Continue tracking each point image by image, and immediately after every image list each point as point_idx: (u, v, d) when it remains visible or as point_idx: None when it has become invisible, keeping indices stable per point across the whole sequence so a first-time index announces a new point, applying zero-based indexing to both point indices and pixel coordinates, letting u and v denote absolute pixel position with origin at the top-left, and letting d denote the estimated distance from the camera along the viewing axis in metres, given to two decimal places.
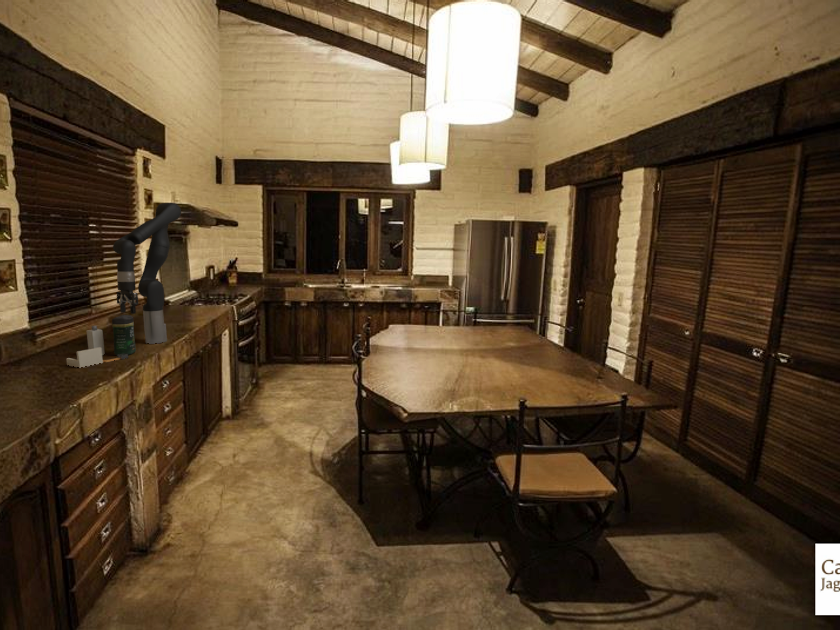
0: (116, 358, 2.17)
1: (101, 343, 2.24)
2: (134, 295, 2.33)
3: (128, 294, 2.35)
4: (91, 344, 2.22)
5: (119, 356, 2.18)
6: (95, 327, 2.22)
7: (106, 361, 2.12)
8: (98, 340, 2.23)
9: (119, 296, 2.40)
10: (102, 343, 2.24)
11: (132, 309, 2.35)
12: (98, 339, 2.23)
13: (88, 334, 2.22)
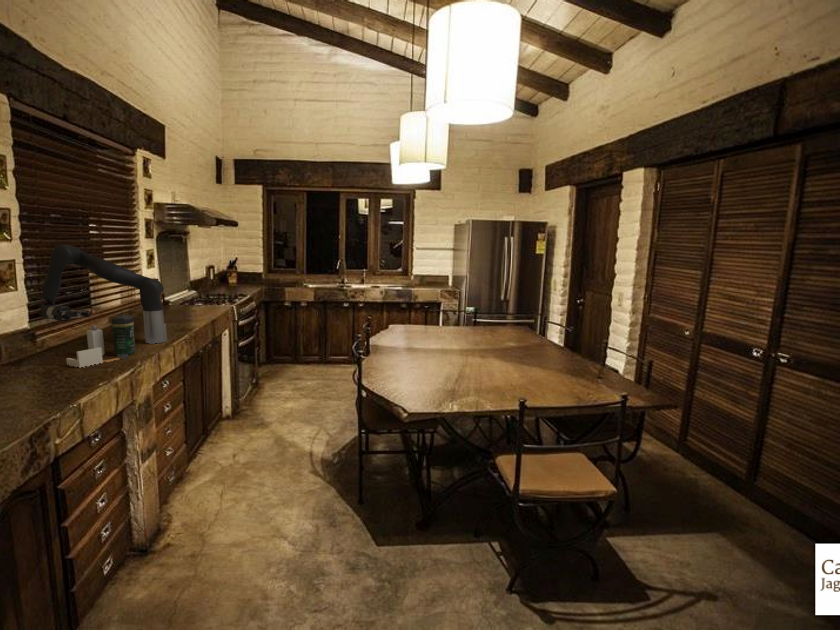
0: (116, 358, 2.17)
1: (101, 343, 2.24)
2: (52, 317, 2.25)
3: None
4: (91, 344, 2.22)
5: (119, 356, 2.18)
6: (95, 327, 2.22)
7: (106, 361, 2.12)
8: (98, 340, 2.23)
9: (82, 314, 2.35)
10: (102, 343, 2.24)
11: (65, 318, 2.23)
12: (98, 339, 2.23)
13: (88, 334, 2.22)
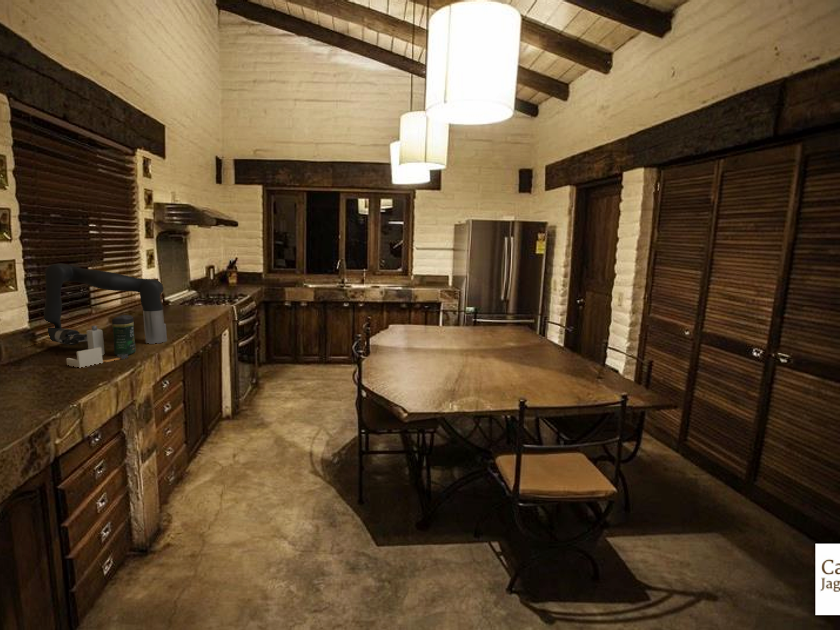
0: (116, 358, 2.17)
1: (101, 343, 2.24)
2: (60, 341, 2.25)
3: None
4: (91, 344, 2.22)
5: (119, 356, 2.18)
6: (95, 327, 2.22)
7: (106, 361, 2.12)
8: (98, 340, 2.23)
9: None
10: (102, 343, 2.24)
11: (73, 342, 2.23)
12: (98, 339, 2.23)
13: (88, 334, 2.22)
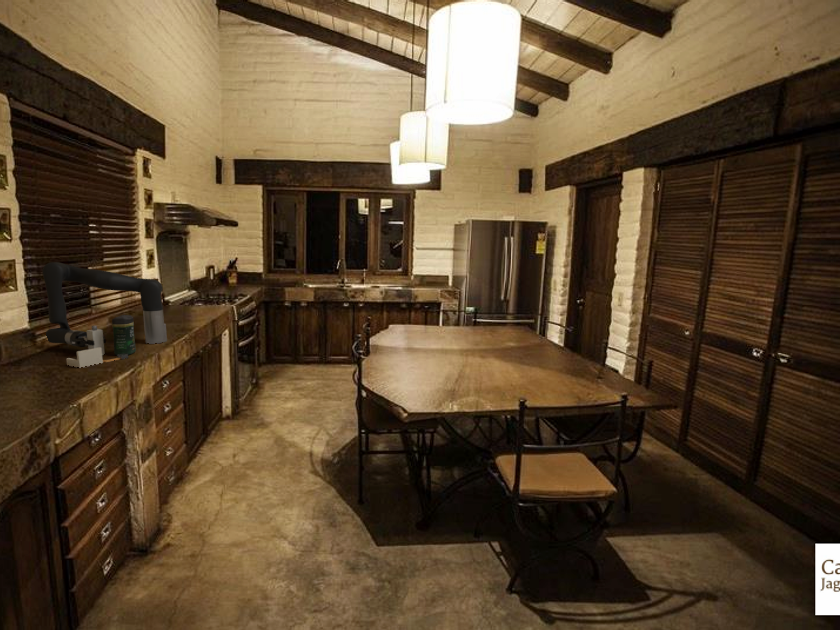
0: (116, 358, 2.17)
1: (101, 343, 2.24)
2: (73, 343, 2.21)
3: None
4: None
5: (119, 356, 2.18)
6: (95, 327, 2.22)
7: (106, 361, 2.12)
8: (98, 340, 2.23)
9: None
10: (102, 343, 2.24)
11: None
12: (98, 339, 2.23)
13: (88, 334, 2.22)
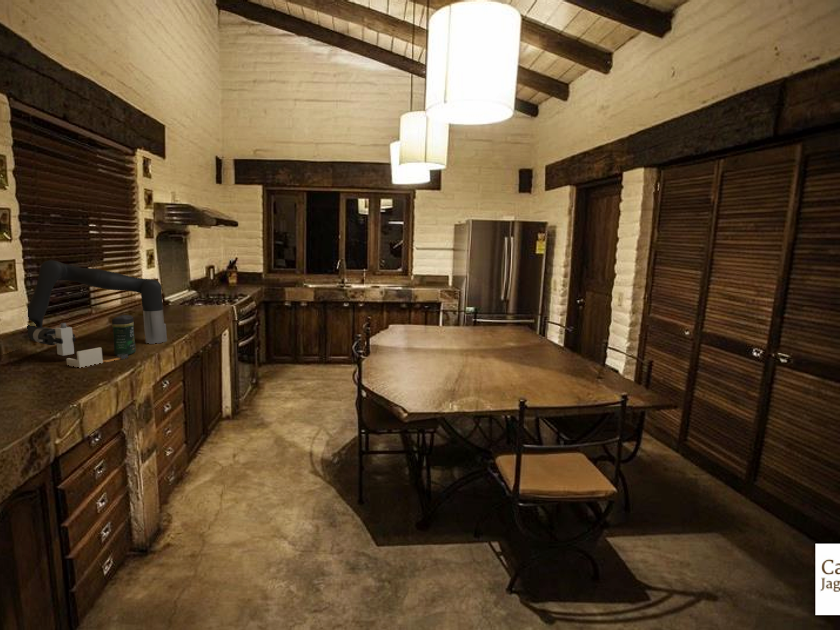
0: (116, 358, 2.17)
1: (70, 341, 2.13)
2: (40, 341, 2.10)
3: (48, 341, 2.13)
4: None
5: (119, 356, 2.18)
6: (64, 324, 2.11)
7: (106, 361, 2.12)
8: (67, 338, 2.12)
9: None
10: (71, 341, 2.14)
11: (57, 342, 2.10)
12: (67, 337, 2.12)
13: (56, 332, 2.11)
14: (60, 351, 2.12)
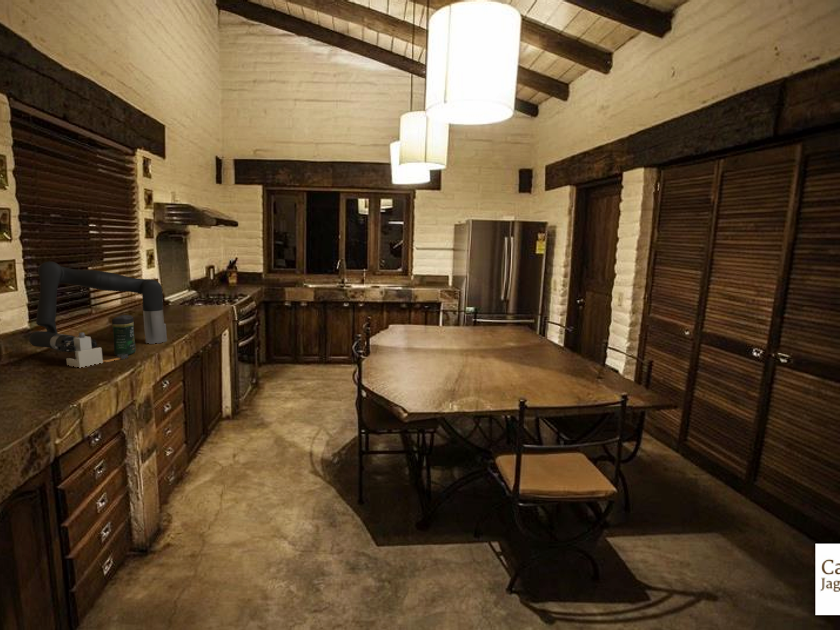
0: (116, 358, 2.17)
1: None
2: (56, 348, 2.05)
3: None
4: None
5: (119, 356, 2.18)
6: (83, 334, 2.06)
7: (106, 361, 2.12)
8: (86, 348, 2.07)
9: None
10: None
11: (70, 349, 2.03)
12: (86, 347, 2.07)
13: (75, 342, 2.06)
14: None
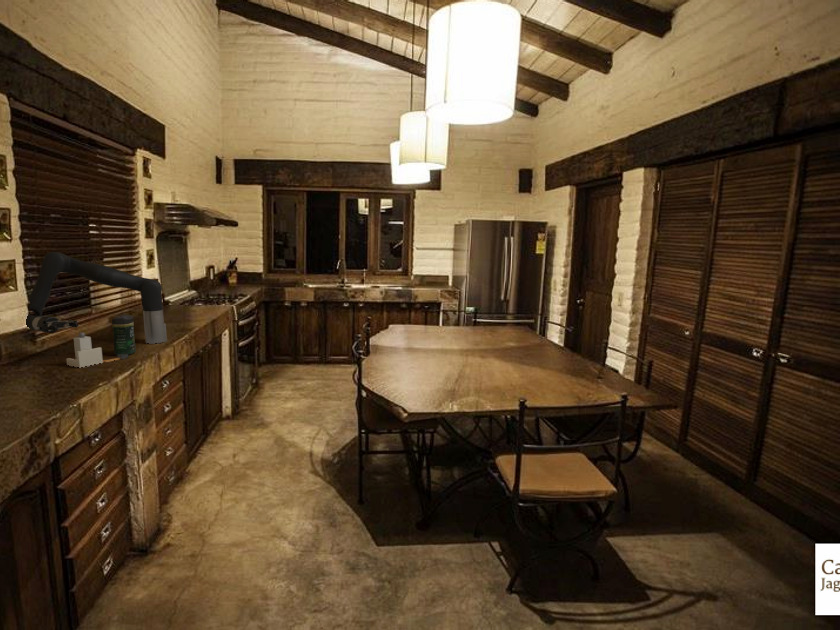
0: (116, 358, 2.17)
1: None
2: (37, 328, 2.12)
3: None
4: None
5: (119, 356, 2.18)
6: (83, 334, 2.06)
7: (106, 361, 2.12)
8: (86, 348, 2.07)
9: (70, 324, 2.22)
10: None
11: (51, 329, 2.10)
12: (86, 347, 2.07)
13: (75, 342, 2.06)
14: None
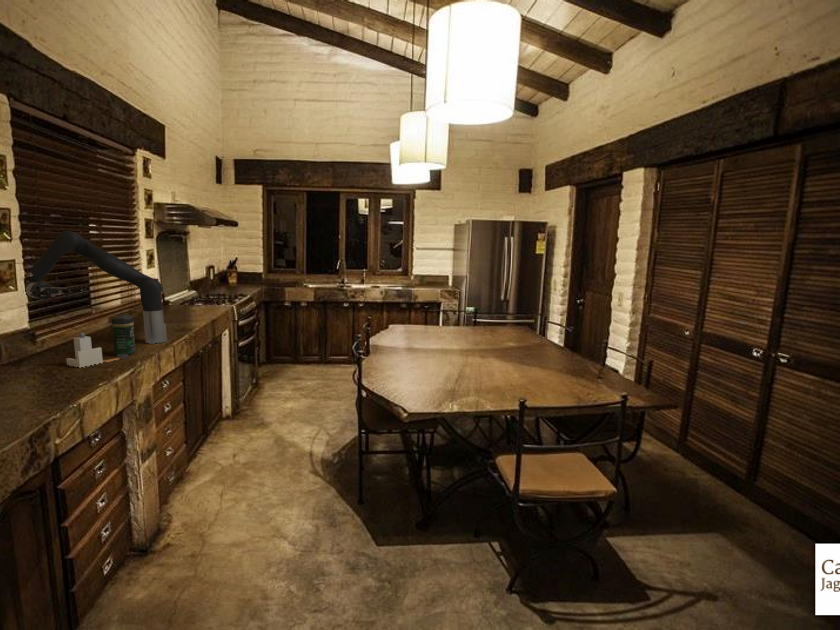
0: (116, 358, 2.17)
1: None
2: (30, 293, 2.14)
3: None
4: None
5: (119, 356, 2.18)
6: (83, 334, 2.06)
7: (106, 361, 2.12)
8: (86, 348, 2.07)
9: (63, 291, 2.24)
10: None
11: (44, 294, 2.12)
12: (86, 347, 2.07)
13: (75, 342, 2.06)
14: None
